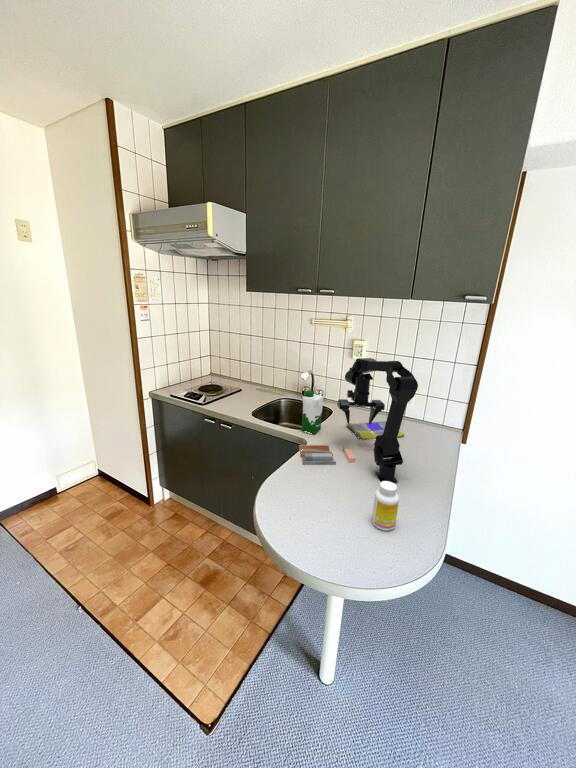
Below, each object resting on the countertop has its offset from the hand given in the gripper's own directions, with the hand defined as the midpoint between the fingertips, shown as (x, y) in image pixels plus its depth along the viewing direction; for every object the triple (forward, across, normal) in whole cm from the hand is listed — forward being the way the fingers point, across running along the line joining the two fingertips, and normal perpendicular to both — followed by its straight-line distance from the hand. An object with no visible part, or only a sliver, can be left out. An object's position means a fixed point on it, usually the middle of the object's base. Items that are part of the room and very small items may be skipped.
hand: (358, 423), depth 133 cm
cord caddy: (+13, +18, +6) cm, 23 cm away
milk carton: (+12, +18, -20) cm, 30 cm away
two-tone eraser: (+13, +5, +5) cm, 15 cm away
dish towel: (+13, -14, -21) cm, 29 cm away
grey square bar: (+12, +18, +10) cm, 24 cm away
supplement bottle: (+14, +4, +45) cm, 47 cm away
